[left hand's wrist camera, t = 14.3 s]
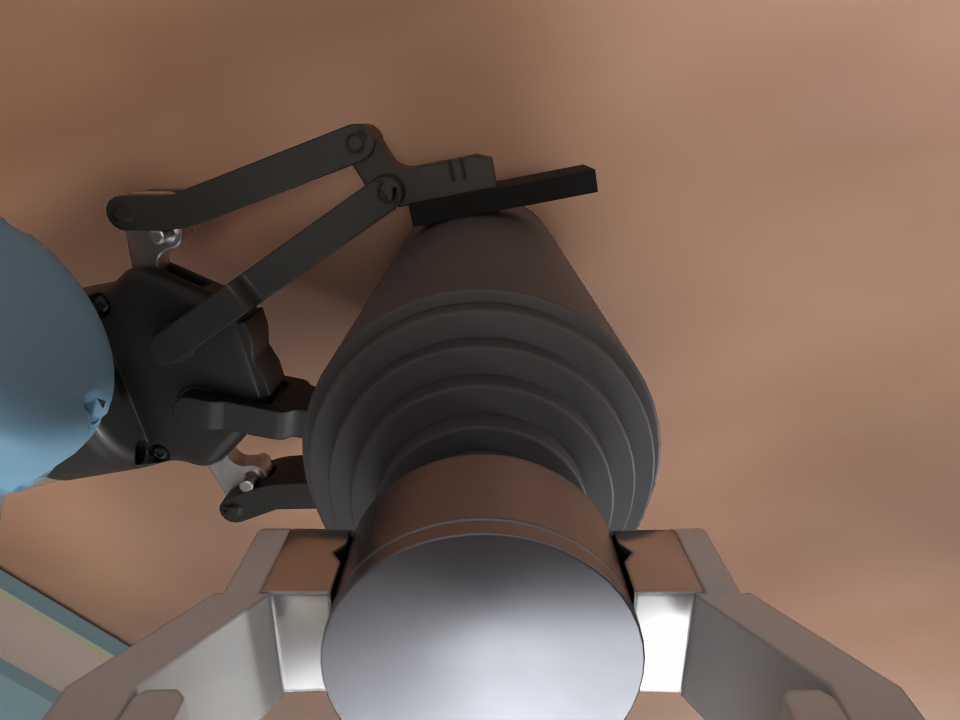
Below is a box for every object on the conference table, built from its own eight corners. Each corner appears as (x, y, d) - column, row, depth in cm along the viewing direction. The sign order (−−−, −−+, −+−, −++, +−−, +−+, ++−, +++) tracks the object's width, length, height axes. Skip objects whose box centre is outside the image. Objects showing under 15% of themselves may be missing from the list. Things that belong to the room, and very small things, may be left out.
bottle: (587, 234, 30) (874, 523, 8) (519, 373, 33) (599, 881, 11) (436, 165, 29) (309, 289, 7) (377, 314, 32) (146, 746, 10)
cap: (438, 401, 10) (427, 473, 8) (669, 536, 10) (714, 631, 8) (302, 602, 11) (263, 707, 9) (518, 707, 12) (526, 825, 10)
